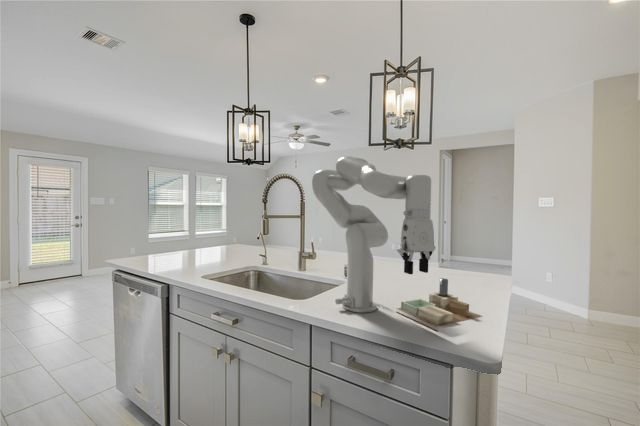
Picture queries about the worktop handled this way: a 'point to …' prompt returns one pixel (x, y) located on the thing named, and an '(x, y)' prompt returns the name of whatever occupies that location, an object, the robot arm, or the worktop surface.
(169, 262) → the worktop surface
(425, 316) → the beige cardboard box
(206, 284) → the worktop surface
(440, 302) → the holder
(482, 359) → the worktop surface
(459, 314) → the board
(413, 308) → the tray
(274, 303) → the worktop surface
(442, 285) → the dowel
